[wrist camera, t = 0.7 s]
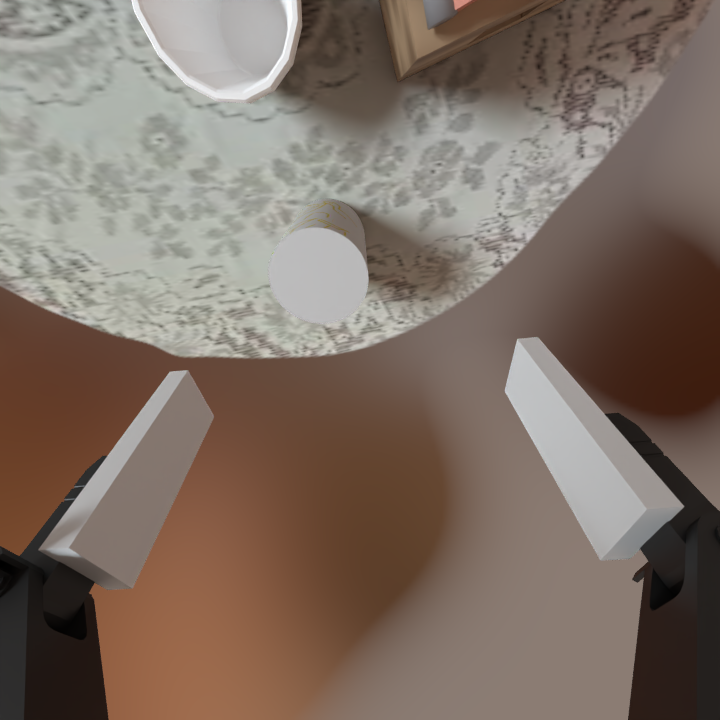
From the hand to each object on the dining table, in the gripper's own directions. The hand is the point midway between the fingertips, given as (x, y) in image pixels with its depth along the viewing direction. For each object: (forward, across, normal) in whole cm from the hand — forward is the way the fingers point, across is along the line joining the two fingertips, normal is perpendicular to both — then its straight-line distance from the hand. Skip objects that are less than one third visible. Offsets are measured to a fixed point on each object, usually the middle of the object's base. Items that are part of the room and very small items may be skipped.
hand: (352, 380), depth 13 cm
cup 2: (+27, -3, -2) cm, 27 cm away
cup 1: (+27, -6, +15) cm, 31 cm away
